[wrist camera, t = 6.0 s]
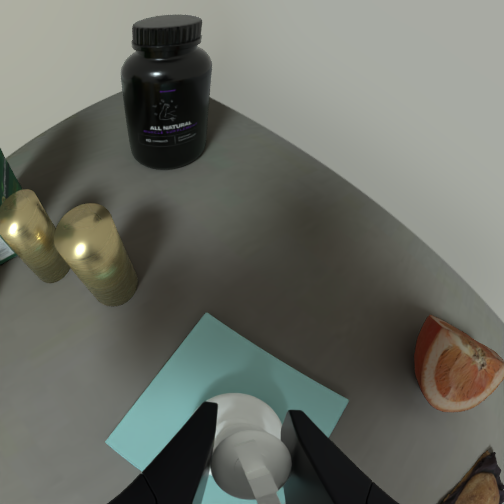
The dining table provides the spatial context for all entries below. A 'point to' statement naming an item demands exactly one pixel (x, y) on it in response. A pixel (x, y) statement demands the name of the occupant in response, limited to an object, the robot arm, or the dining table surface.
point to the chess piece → (249, 449)
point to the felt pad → (216, 383)
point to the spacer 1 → (32, 235)
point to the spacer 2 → (96, 253)
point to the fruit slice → (454, 367)
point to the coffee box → (4, 185)
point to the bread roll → (479, 484)
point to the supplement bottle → (167, 91)
